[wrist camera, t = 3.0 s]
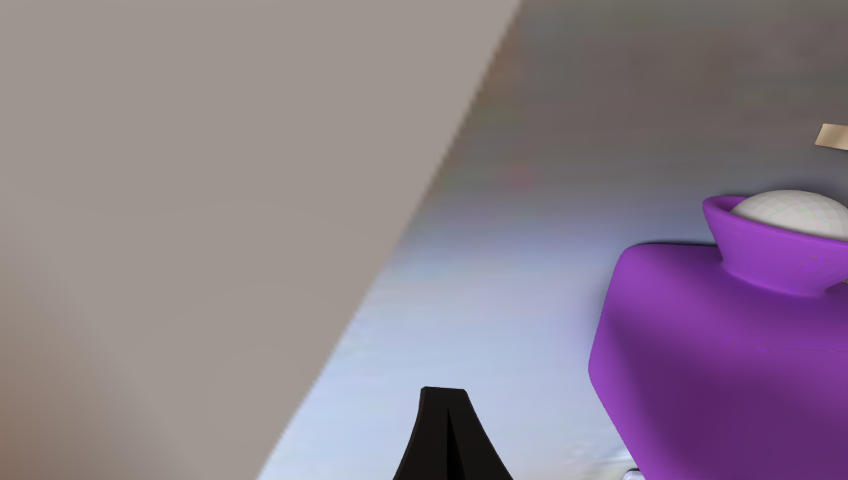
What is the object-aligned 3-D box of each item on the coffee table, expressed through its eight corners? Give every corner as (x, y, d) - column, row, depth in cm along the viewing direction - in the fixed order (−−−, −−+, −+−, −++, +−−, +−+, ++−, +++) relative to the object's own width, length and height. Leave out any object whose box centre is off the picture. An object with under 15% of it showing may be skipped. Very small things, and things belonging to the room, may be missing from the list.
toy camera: (803, 157, 20) (1134, 224, 11) (751, 375, 25) (946, 549, 16) (585, 181, 20) (723, 266, 11) (577, 391, 25) (668, 570, 16)
